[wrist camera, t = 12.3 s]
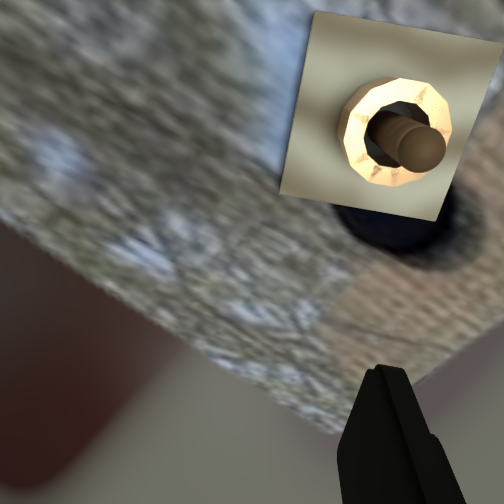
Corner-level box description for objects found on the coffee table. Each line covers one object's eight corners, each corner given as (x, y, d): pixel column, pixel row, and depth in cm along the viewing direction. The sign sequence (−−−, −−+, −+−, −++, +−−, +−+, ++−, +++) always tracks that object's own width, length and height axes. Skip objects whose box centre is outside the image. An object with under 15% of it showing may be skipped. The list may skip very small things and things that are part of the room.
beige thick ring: (351, 70, 29) (361, 71, 25) (444, 87, 29) (467, 90, 25) (328, 164, 32) (334, 176, 28) (412, 178, 32) (429, 193, 28)
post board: (313, 13, 30) (333, -23, 18) (491, 45, 30) (630, 30, 18) (279, 187, 36) (277, 247, 24) (428, 213, 36) (499, 286, 24)
